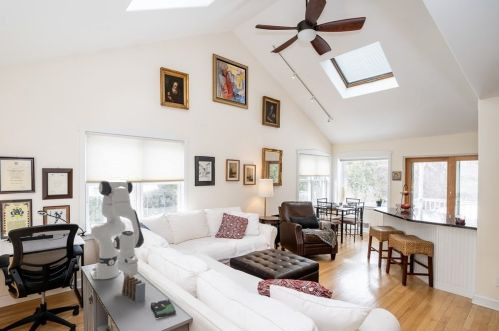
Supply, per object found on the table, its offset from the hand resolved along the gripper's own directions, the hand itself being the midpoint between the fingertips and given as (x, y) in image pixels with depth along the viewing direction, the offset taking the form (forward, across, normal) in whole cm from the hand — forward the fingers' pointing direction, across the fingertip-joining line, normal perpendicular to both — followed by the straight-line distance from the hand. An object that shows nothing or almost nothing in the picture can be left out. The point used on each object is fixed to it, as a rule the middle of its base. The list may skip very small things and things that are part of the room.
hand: (126, 279), depth 170 cm
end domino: (+8, +18, 0) cm, 20 cm away
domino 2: (+8, +5, 0) cm, 9 cm away
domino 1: (+8, 0, 0) cm, 8 cm away
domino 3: (+8, +9, 0) cm, 12 cm away
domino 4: (+8, +14, 0) cm, 16 cm away
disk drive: (+9, +38, +3) cm, 39 cm away
